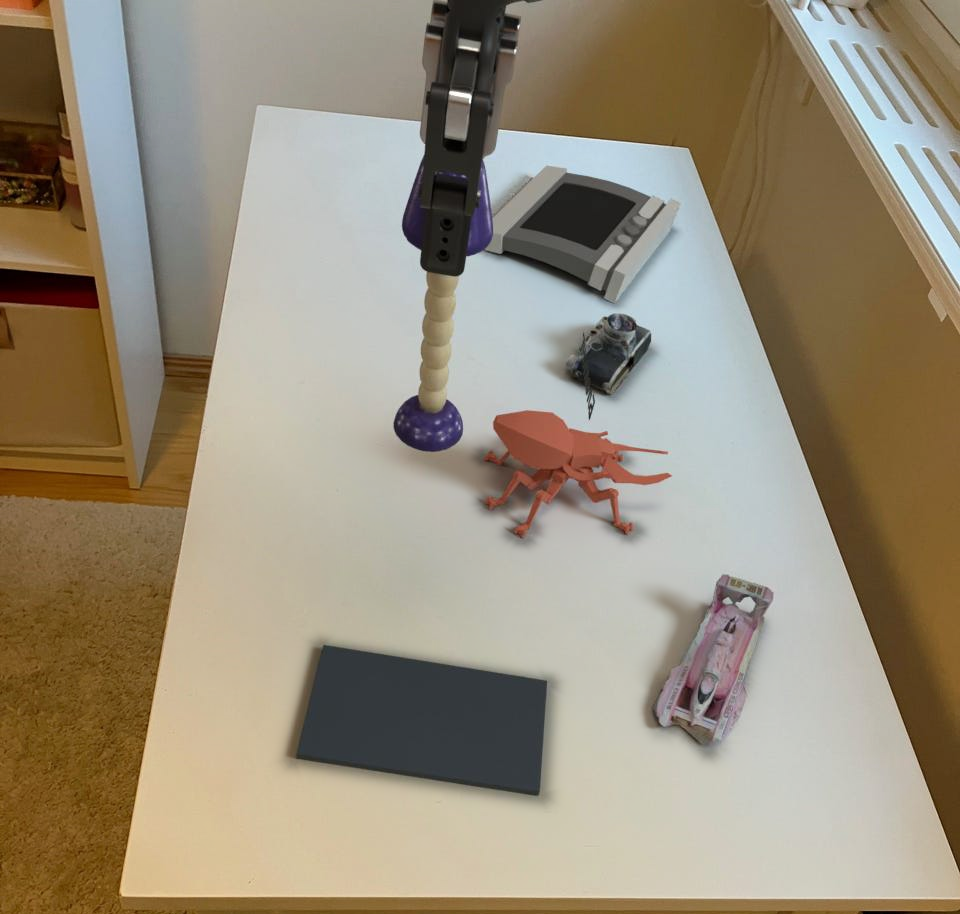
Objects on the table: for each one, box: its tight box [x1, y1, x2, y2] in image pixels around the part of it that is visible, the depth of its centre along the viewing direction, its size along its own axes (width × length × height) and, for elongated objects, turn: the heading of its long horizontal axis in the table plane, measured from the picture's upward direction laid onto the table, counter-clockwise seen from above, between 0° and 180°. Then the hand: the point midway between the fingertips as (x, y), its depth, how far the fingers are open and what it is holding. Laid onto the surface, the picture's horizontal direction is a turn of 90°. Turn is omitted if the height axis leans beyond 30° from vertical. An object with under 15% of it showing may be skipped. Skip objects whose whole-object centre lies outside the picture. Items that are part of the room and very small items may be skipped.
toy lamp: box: [393, 155, 493, 453], centre depth 54 cm, size 5×5×17 cm
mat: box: [296, 644, 548, 797], centre depth 68 cm, size 16×9×1 cm, turn 84°
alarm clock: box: [483, 165, 682, 304], centre depth 106 cm, size 17×5×16 cm
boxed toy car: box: [652, 574, 774, 747], centre depth 72 cm, size 13×6×4 cm, turn 155°
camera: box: [565, 312, 652, 395], centre depth 93 cm, size 5×10×4 cm, turn 150°
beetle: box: [483, 331, 673, 539], centre depth 79 cm, size 15×12×13 cm
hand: (447, 240), depth 51 cm, fingers closed on toy lamp, 4 cm apart
